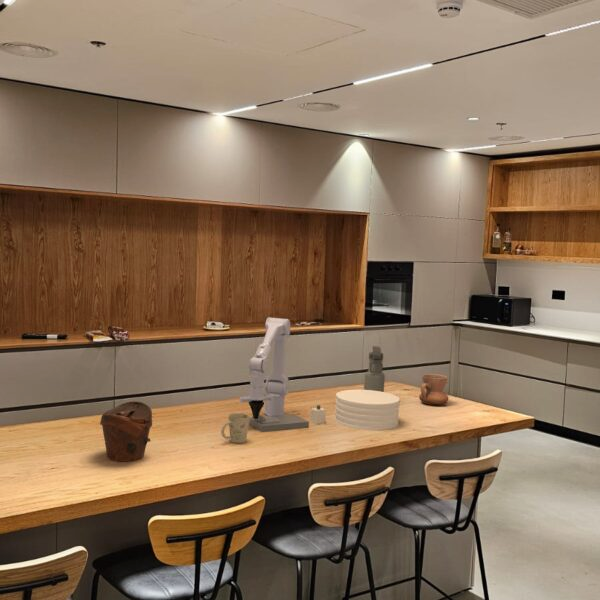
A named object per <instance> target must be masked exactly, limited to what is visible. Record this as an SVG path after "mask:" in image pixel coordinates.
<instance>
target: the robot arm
mask: <svg viewBox="0 0 600 600" xmlns="http://www.w3.org/2000/svg"><path fill="white" fill-rule="evenodd" d="M290 334H291V320H289V319H288V318H280V317H279V318H278V317H271V316H269V317H267V318H266V321H265V335H264V339H263V341H262V343H260V344H259V345H258V347H257V349H256V351H255V354H254V355H253V357H251V358H250V359H249V360H248V361H249V362H248V370H249V375H250V379H249V380H250V382H249V384H250V385H249V395H245V396H239V403H242V404H243V403H248V404H249V406H250V409H251V413H252V417H253V418H254V419H258V417H259V414H260V413H261V410H262V408H263V407H264V410H262V413H263V414H265V416H272V415H284V414H285V413H284V412H285V398H286V396H287V395H288V393H289V391H290V380H289V378H288V377H287V375H285V374H284V367H285V366H284V365H285V354H286V343H287V342H286V340H287V338H288V337H290ZM273 343H274V345H273V347H274V348H273V359H272V360H273V361H272V370H271V371H272V372H271V373H270V374H269V375H267V377H266V380H265V374H266V371H267V369H268V364H269V358H270V355H271V353H272V347H271V346H272V344H273ZM264 391H265V392H264ZM264 393H265V394H264Z"/></svg>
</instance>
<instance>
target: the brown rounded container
mask: <svg viewBox="0 0 600 600" xmlns="http://www.w3.org/2000/svg"><path fill="white" fill-rule="evenodd" d="M152 414H153V412H152V408H151V407H150V406H149V405H148V404H146V403H144V402H141V401H137V400H136V401H128V402H124V403H121V404H119V405H117V406H115V407H113V408H110V409H109V410H107V411H106V412H104V413H102V415H101V418H100V422H99V424H100V426H102V427H101V428H102V433H103V438H104V439H103V440H104V444H105V445H104V446H105V450H106V457H107V458H108V459H109V460H110V461H114V462H115V461H116V462H133V461H137V460H140V459H142V458H143V457H144V456H145V451H146V448H147V445H148V442H151V439H150V438H149V435H150V429H151V427H153V415H152Z"/></svg>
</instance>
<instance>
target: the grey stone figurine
mask: <svg viewBox="0 0 600 600" xmlns="http://www.w3.org/2000/svg"><path fill="white" fill-rule="evenodd" d="M383 361H384V353H382V350H381V347H380V346H377V345H375V346H372V351H369V353H368V370H367V371H365V374H364V384H363V386H364V387H363V390H373V391H381V392H384V390H385V380H386V379H385V373H383V368H384V367H383V366H384V365H383Z"/></svg>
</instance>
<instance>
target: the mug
mask: <svg viewBox="0 0 600 600" xmlns="http://www.w3.org/2000/svg"><path fill="white" fill-rule="evenodd" d="M250 417H251V415H250V414H248V413H245V412H244V413H243V412H234V413H233V412H232V413H230V414H228V417H227V418H228V421H226V422H224V423H223V425H222V426H221V433H220V435H221V436H222V437H223V438H224V439H225V440H228V439H229V440H230V442H232V443H234V444H243V443H245V442H246V441H247V437H248V431H249V421H250ZM227 426H229V427H228V428H229V435H227V436H226V434H225V429H226V427H227Z"/></svg>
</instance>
